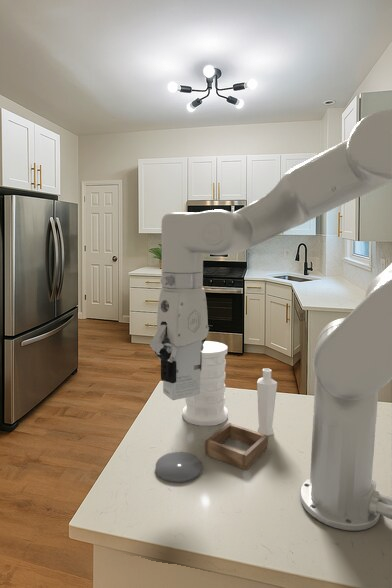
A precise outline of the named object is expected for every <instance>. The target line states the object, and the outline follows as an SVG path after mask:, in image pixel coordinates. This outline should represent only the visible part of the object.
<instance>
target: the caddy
mask: <svg viewBox="0 0 392 588" xmlns="http://www.w3.org/2000/svg"><path fill="white" fill-rule="evenodd" d="M230 439H233V440H235V441H238V442H240V443H243V444H247V445H250V447H249V448H248V449H247V450H246V451H241V450H239V449H236V448H234V447H230V446H228V445H225V443H226V442H227V441H228V440H230ZM268 444H269V436H268V435H265V434H262V433H259V432H257V431H255V430H252V429H249V428H246V427H244V426H239V425H237V424H234V423H231V422H229V423H227V424H225V426H224V425H223V427H222V428H220V429H219V430H218V431H216V432H214V433H213V434H212V435H211V436H209V437H208V438H207V439H205V440H204V454H205V455H206V456H209V457H211V458H214V459H216V460H219V461H222V462H225V463H226V464H229V465H231V466H234V467H237V468H239V469H242V470H243V471H244V470H245V471H247V470H248V469H249V468H250V467H251V466H252V465H253V464H254V463H255V462H256V461H257V460H258V459H259V458H260V457H261V456H262V455H263V454H264V453H265V452H266V451H267V450H268V447H269V445H268Z"/></svg>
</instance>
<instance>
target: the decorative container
mask: <svg viewBox="0 0 392 588" xmlns="http://www.w3.org/2000/svg"><path fill="white" fill-rule="evenodd" d="M203 346H204V348H203V350H202V351H201V352H202V364H201V371H200V394H199V395H195V396H191V397H187V398H184V400H185V404H186V405H185V406H184V407H183V408H182V418H183V420H184V421H185V422H187V423H189V424H192V425H195V426H200V427H211V426H212V427H213V426H217V425H219V424H223V423H224V422H226V421H227V419H228V418H229V410H228V408H227V407H226V406H225V404H226V396H225V392H226V387H227V386H226V384H225V380H226V376H227V373H226V371H225V369H226V365H227V361H226V356H227V354H228V350H229V349H228V347H229V346H228V345H226V344H225V343H223V342H218V341H211V340H205V342H204V344H203Z"/></svg>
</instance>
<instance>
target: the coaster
mask: <svg viewBox="0 0 392 588" xmlns="http://www.w3.org/2000/svg"><path fill="white" fill-rule="evenodd" d="M202 471H203V463H202V460H201V459H200V457H198V456H197V455H196V454H193V453H190V452H186V451H173V452H168V453H166V454H164V455H162V456H160V457H159V458H158V459H157V460H156V462H155V473H156V475H157V476H158V478H160V479H162V480H164V481H165V482H168V483H176V484H180V483H187V482H191V481H193V480H195V479H197V478H198V477H199V476H200V475H201V474H202Z"/></svg>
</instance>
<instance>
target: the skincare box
mask: <svg viewBox="0 0 392 588" xmlns="http://www.w3.org/2000/svg"><path fill="white" fill-rule="evenodd" d="M168 343H170V341H169V342H168ZM170 349H171V347H168V348H167V352H168V353H169V352H170ZM200 360H201V340H200V341H198V342H196V343H193V344H190V345H187V346H184V347H180V348H177V351H176V354H175V358H174V361H176V382H175V383H170V382H166V381H163V380H162V383H163V384H162V392H163V394H164V395H165V396H166V397H168V398H169V400H172V401H177V400H181V399H185V398H187V397H191V396H195V395H199V394H200Z"/></svg>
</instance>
